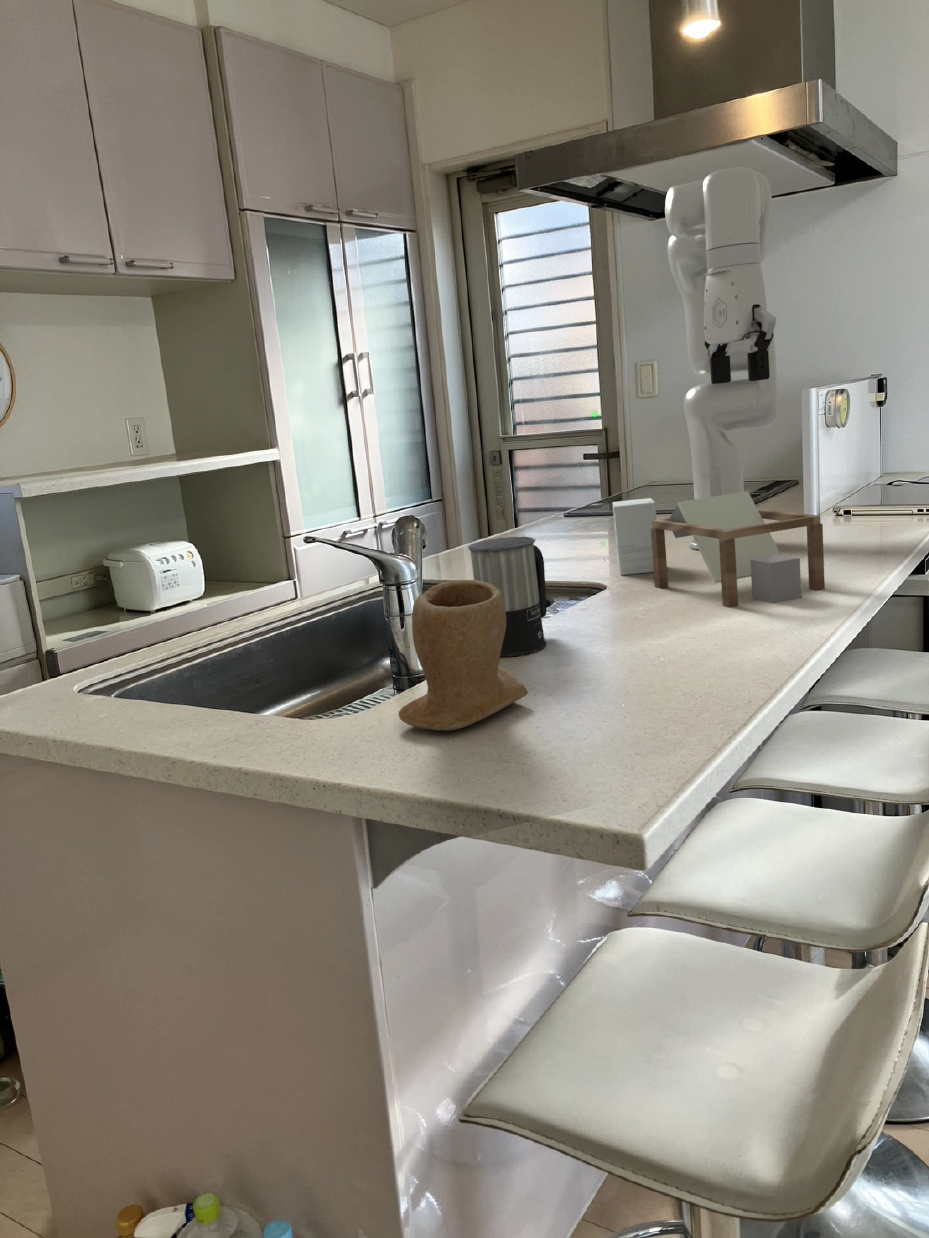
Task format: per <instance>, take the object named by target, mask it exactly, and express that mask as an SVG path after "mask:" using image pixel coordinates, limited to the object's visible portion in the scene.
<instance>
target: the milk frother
mask: <svg viewBox="0 0 929 1238" xmlns="http://www.w3.org/2000/svg"><path fill="white" fill-rule="evenodd" d="M535 542H536V539H535V538H534V537H529V536H513V537H512V536H509V537H502V538H501V537H499V538H493V539H487V540H482V541H479V542H473V543H471V544H470V545H468V546H467V549H468V550H469V551H470V557H471V564H472V565H471V566H472V576H473V580H476V581H482V582H486V583H489V584H491V585H493V586H494V587H496V588H498V590H499V591H500V592H501V594H502V596H503V599H504V605H505V612H506V630H505V635H504V639H503V644H502V648H501V653H500V658H506V657H507V658H508V657H518V656H524V655H525V656H526V655H530V654H533V653H537V652H538V651H541V650H542V648H543V649H544V648H545V647H546V646H547V640H546V639H545V635H544V634H545V633H544V629H543V628H544V627H543V621H542V618H545V616H546V615H547V595H546V594H547V593H546V591H547V589H546V577H545V575H546V574H545V570H546V569H545V560H544V556H543V553H542V551H541V549H540V548H539V547H538V546H537V545H535ZM529 653H530V654H529Z"/></svg>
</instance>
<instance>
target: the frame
mask: <svg viewBox="0 0 929 1238" xmlns="http://www.w3.org/2000/svg"><path fill="white" fill-rule="evenodd" d="M757 509H758V511H759V513H760V515H761V517H762V519H763V520H770V521H771V520H772V521H771V522H767V523H765V524H760V525H754V526H748V527H742V528H736V529H730V530H725V529H718V528H712V527H705V526H699V525H692V524H685V523H679V522H672V521H668V520H669V518H670V517H664V518H659V519H657V520H652V528H651V540H652V554H653V568H654V572H653V579H654V587H655V588H659V589H661V588H667V587H669V580H668V579H669V578H668V564H667V550H666V535H665V531H669V532H670V531H671V532H673V531H675V532H681V533H687V534H693V535H699V536H705V537H711V538H717V539H719V549H720V566H721V582H720V583H721V598H722V599H721V600H722V606H723V607H727V608H731V607H736V606H739V596H738V594H739V593H738V579H737V573H736V554H735V539H734V538H740V537H746V536H752V535H758V534H764V533H770V534H771V533H775V532H781V531H786V530H792V529H798V528H804V527H806V541H807V542H806V543H807V567H808V568H807V569H808V571H807V572H808V589H809V590H814V591H820V590H824V589H826V585H825V583H826V582H825V560H824V559H825V558H824V557H825V556H824V531H823V530H824V529H823V528H824V527H823V523H822V522H821V515H815V514H808V513H806V514H805V513H800V512H799V513H798V512H789V511H779V510H769V509H762V508H757Z"/></svg>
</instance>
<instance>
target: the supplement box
mask: <svg viewBox="0 0 929 1238" xmlns="http://www.w3.org/2000/svg"><path fill="white" fill-rule="evenodd" d="M612 511H613V524H614V533H615V534H614V536H615V537H614V538H615V546H616V547H615V550H616V562H617V568H618V571H620V572H619V574H620V576H625V575H626V576H627V575H634V574H636V575H637V574H644V573H645V574H646V573H654V568H653V554H652V540H651V528H652V520H658V519H657V508H656V502H655V500H654V499H652V498H651V497H649V498H639V499H630V500H629V499H628V500H621V501H613V502H612Z"/></svg>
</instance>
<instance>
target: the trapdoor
mask: <svg viewBox="0 0 929 1238" xmlns="http://www.w3.org/2000/svg"><path fill="white" fill-rule="evenodd" d="M758 509H759V508H757V505H756V504H755V501H754V500H753V498H752V496H751V494H750V492H749V490H746V491H744V492H739V493H733V494H726V495H720V496H713V497H707V498H701V499H689V500H681V501H678V502H677V505H675V508H674V510H673V512H672V513H671V515H670V517H668V518H669V520H668V521H672V522H679V523H685V524H692V525H699V526H705V527H712V528H718V529H725V530H730V529H736V528H742V527H748V526H754V525H760V524H766V523H765V521H764V519H762V517H761V515H760V513H759V511H758ZM672 533H673V536H674V537H675V539H678V538H683V537H690V536H692V538H693V539H694V540H695V542H696V544H697V546H698V549H697V550H699V552H700V555H701V558H702V559H703V561H704V563H705V565H706V567H707V569H708V571H709V573H710V576H711V579H712V580H713V582H714V584H717V583H718V584H719V583H721V566H720V549H719V539H717V538H711V537H705V536H699V535H693V534H687V533H681V532H675V531H672ZM734 539H735V554H736V573H737V580H739V579H743V578H749V577H751V560H750V559H755V558H761V557H766V556H772V555H778V554H780V555H782V554H781V553H780V550H779V548H778V546H777V544H776V543H775V541H774V539H773V537H772V535H771V532H770V533H764V534H758V535H752V536H746V537H740V538H734Z"/></svg>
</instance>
